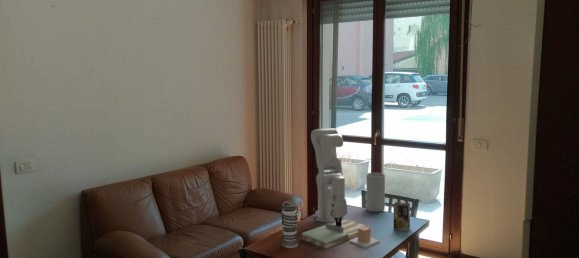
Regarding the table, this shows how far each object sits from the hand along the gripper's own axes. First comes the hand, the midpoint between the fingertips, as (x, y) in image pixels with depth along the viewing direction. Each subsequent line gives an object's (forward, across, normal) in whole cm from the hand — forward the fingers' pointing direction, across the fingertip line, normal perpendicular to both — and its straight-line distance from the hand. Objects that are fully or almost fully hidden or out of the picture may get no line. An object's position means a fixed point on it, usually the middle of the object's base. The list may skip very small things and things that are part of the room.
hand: (338, 227), depth 249 cm
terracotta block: (+4, +2, -18) cm, 18 cm away
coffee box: (+5, +34, -20) cm, 40 cm away
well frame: (+5, -1, 0) cm, 5 cm away
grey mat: (+4, +2, -18) cm, 19 cm away
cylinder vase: (+5, +53, +15) cm, 56 cm away
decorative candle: (+5, -32, +7) cm, 33 cm away
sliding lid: (+2, -11, 0) cm, 12 cm away
